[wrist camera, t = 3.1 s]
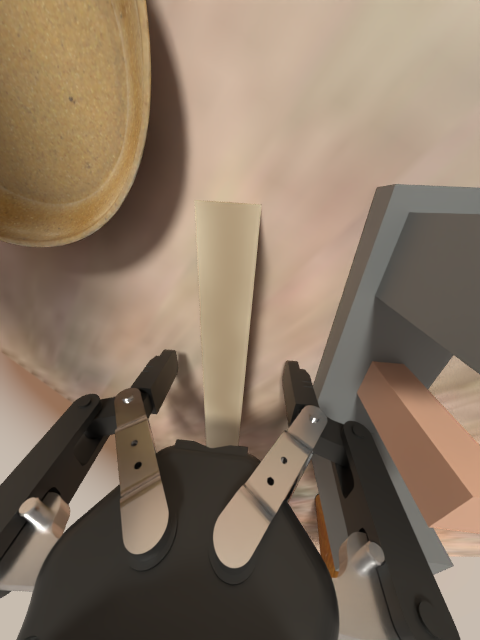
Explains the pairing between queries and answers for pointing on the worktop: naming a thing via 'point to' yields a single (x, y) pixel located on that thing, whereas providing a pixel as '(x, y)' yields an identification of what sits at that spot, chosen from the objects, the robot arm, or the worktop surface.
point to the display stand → (409, 358)
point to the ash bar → (225, 309)
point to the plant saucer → (70, 115)
